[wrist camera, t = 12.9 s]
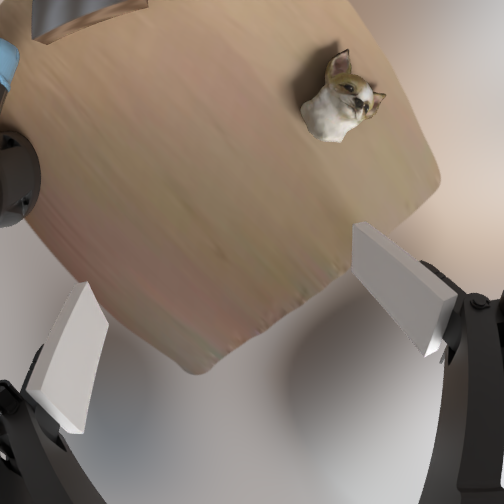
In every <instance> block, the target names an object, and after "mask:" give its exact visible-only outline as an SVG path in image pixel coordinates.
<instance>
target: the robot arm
mask: <svg viewBox="0 0 504 504" xmlns="http://www.w3.org/2000/svg"><path fill="white" fill-rule="evenodd" d="M19 58H20V55H19V51H18V49H17V48H16V47H15V46H14V45H13V44H11V43H9V42H8V41H6V40H4V39H2V38H0V113H1V110H2V107H3V104H4V102H5V99H6V96H7V93H8V92H9V91H10V88H11V86H10V84H11V81H12V79H13V76H14V73H15V71H16V68H17V66H18V63H19ZM40 184H41V173H40V165H39V161H38V158H37V155H36V152H35V150H34V148H33V147H32V145H31V144H30V142H29V141H28V140H27V139H26V138H25V137H24V136H22V135H21V134H19V133H16V132H11V131H7V132H2V133H0V228H2V227H9V226H12V225H14V224H17V223H18V222H20V221H21V220H22V219H23V218H25V217H26V216H27V215H28V214H29V213H30V212H31V211H32V209H33V208H34V206H35V204H36V201H37V199H38V195H39V191H40ZM351 272H352V273H353V274H354V275H355V276H356V277H357V278H358V280H360V282H361V283H362V284H363V285H364V286H365V287H366V288H367V290H368V291H369V292H370V293H371V294H372V295H373V296H374V297H375V299H376V300H377V301H378V302H379V303H380V304H381V305H382V307H383V308H384V309H385V310H386V311H387V312H388V314H389V315H390V316H391V317H392V318H393V320H394V321H395V322H396V323H397V324H398V325H399V327H400V328H401V329H402V330H403V332H404V333H405V334H406V335H407V336H408V338H409V339H410V340H411V341H412V343H413V344H414V345H415V346H416V347H417V349H418V350H419V351H420V352H421V354H422V355H423V356H424V357H425V356H427V355H429V354H431V353H433V352H435V351H437V350H438V349H439V347H440V344H441V342H442V339H443V340H444V341H445V342H446V343H447V346H446V348H445V351H444V353H443V355H442V358H441V360H440V363H442V362H443V360H444V359H445V363H444V378H443V379H444V380H443V390H442V399H441V407H440V414H439V421H438V427H437V433H436V438H435V443H434V448H433V453H432V457H431V462H430V466H429V470H428V474H427V477H426V481H425V484H424V488H423V491H422V495H421V498H420V500H419V503H418V504H504V488H502V487H501V484H500V482H501V472H502V465H503V455H504V290H503V293H502V295H501V298H500V299H497V300H492V301H490V300H489V299H488V298H487V297H486V296H484V295H482V294H478V293H470V294H466V293H465V292H464V291H463V290H462V289H461V288H459V287H458V286H457V285H456V284H455V283H454V282H452V281H451V280H450V279H449V278H446V276H445V275H444V274H443V273H441V272H440V271H439V270H438V269H436V268H435V267H434V266H433V265H431V264H429V263H427V262H424V261H422V260H421V261H418V260H416V259H415V258H414V257H412V256H411V255H410V254H409V253H407V252H406V251H405V250H404V249H402V248H401V247H400V246H398V245H397V244H396V243H394V242H393V241H392V240H390V239H389V238H388V237H387V236H385V235H384V234H382V233H381V232H380V231H378V230H377V229H376V228H374V227H373V226H372V225H370V224H369V223H367V222H366V221H365V222H360V223H355V224H353V240H352V270H351ZM108 326H109V324H108V322H107V320H106V318H105V316H104V314H103V313H102V311H101V309H100V307H99V305H98V303H97V301H96V298H95V296H94V294H93V292H92V290H91V288H90V286H89V284H88V281H87V282H82V283H78V284H75V285H74V287H73V289H72V291H71V292H70V294H69V296H68V298H67V300H66V302H65V303H64V305H63V307H62V309H61V311H60V313H59V315H58V317H57V319H56V321H55V323H54V325H53V327H52V329H51V331H50V334H49V335H48V338H47V340H46V342H45V344H43V345H42V346H41V347H40V348H39V350H38V351H37V352H36V354H35V357H34V359H33V361H32V362H33V363H32V364H31V366H30V368H29V369H30V370H29V371H28V373H27V376H26V378H25V380H24V383H23V385H22V389H21V391H20V393H19V392H18V391H17V390H16V389H15V388H14V387H13V386H12V384H11V383H10V382H9V381H7V380H0V451H1V452H2V453H4V454H5V455H6V460H4V459H3V458H2V457H1V456H0V504H106V502H105V501H104V499H103V498H102V497H101V495H100V494H99V493H98V491H97V490H96V489H95V487H94V486H93V484H92V483H91V481H90V480H89V479H88V477H87V475H86V474H85V472H84V471H83V469H82V468H81V466H80V465H79V463H78V461H77V460H76V458H75V456H74V455H73V453H72V451H71V450H70V448H69V446H68V444H67V443H66V441H65V439H64V437H63V436H62V435H61V434H60V433H59V427H60V426H61V427H62V428H64V429H65V430H66V431H67V432H68V433H77V434H83V433H84V428H85V422H86V417H87V411H88V406H89V402H90V397H91V392H92V387H93V383H94V379H95V375H96V370H97V366H98V362H99V358H100V355H101V351H102V347H103V343H104V340H105V337H106V333H107V330H108Z"/></svg>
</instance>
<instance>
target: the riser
mask: <svg viewBox="0 0 504 504" xmlns="http://www.w3.org/2000/svg"><path fill="white" fill-rule="evenodd" d="M147 7H148V0H33V4H32V39H33V40H35V41H38V42H41V43H43V44H46V45H48V44H50V43H52V42H54V41H56V40H58V39H60V38H62V37H65V36H67V35H69V34H71V33H74V32H76V31H78V30H81V29H83V28H86V27H88V26H91V25H93V24H96V23H99V22H101V21H104V20H107V19H110V18H113V17H116V16H119V15H122V14H125V13H129V12H132V11H136V10H139V9H143V8H147Z"/></svg>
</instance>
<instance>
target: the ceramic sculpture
mask: <svg viewBox="0 0 504 504" xmlns="http://www.w3.org/2000/svg"><path fill="white" fill-rule="evenodd" d="M350 73H351V63H350V59H349V49H346V50H345V51H343V52H341V53H339V54H337V55H336V56H335V57H333V58H332V59H331V60H330V61H329V63H328V65H327V68H326V72H325V85H324V86H323V87H322V88H321V90H320V91H319V93H318V94H317V95H316V96H315V97H314V98H313V99H312V100H309V101H307V102H305V103H304V104H303V105H302V107H301V114H302V117H303V118H304V120H305V123H306V125H307V128H308V131H309V132H310V133H311V134H312V135H313V136H314V137H315V138H316V139H319V140H321V141H325V142H338V143H340V142H341V141H342V140H343V137H344V136H345V134H346V132H347V131H349V130H351V129H352V128H355V127H356V126H357V125H358V124H359V123H361V122H362V120H363V119H370V118H372V117H373V115H375V114H376V113H377V109H378V108H379V105H380V103H381V101H382V100H383V99H384V98H385V96H386V94H383V93H380V94H379V93H376V92H372V89H371V88H370V86H369V85H368V83H367V82H366V81H365V80H364V79H363V78H361V77H360V76H358V75H352V74H350Z"/></svg>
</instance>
